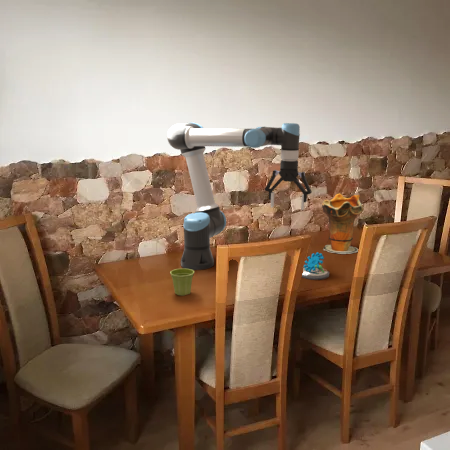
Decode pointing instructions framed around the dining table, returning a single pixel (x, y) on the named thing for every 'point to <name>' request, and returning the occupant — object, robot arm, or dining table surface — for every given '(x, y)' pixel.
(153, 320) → the dining table surface
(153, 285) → the dining table surface
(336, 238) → the decorative vase
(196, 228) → the robot arm
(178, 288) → the plant pot
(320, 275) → the plate
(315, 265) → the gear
